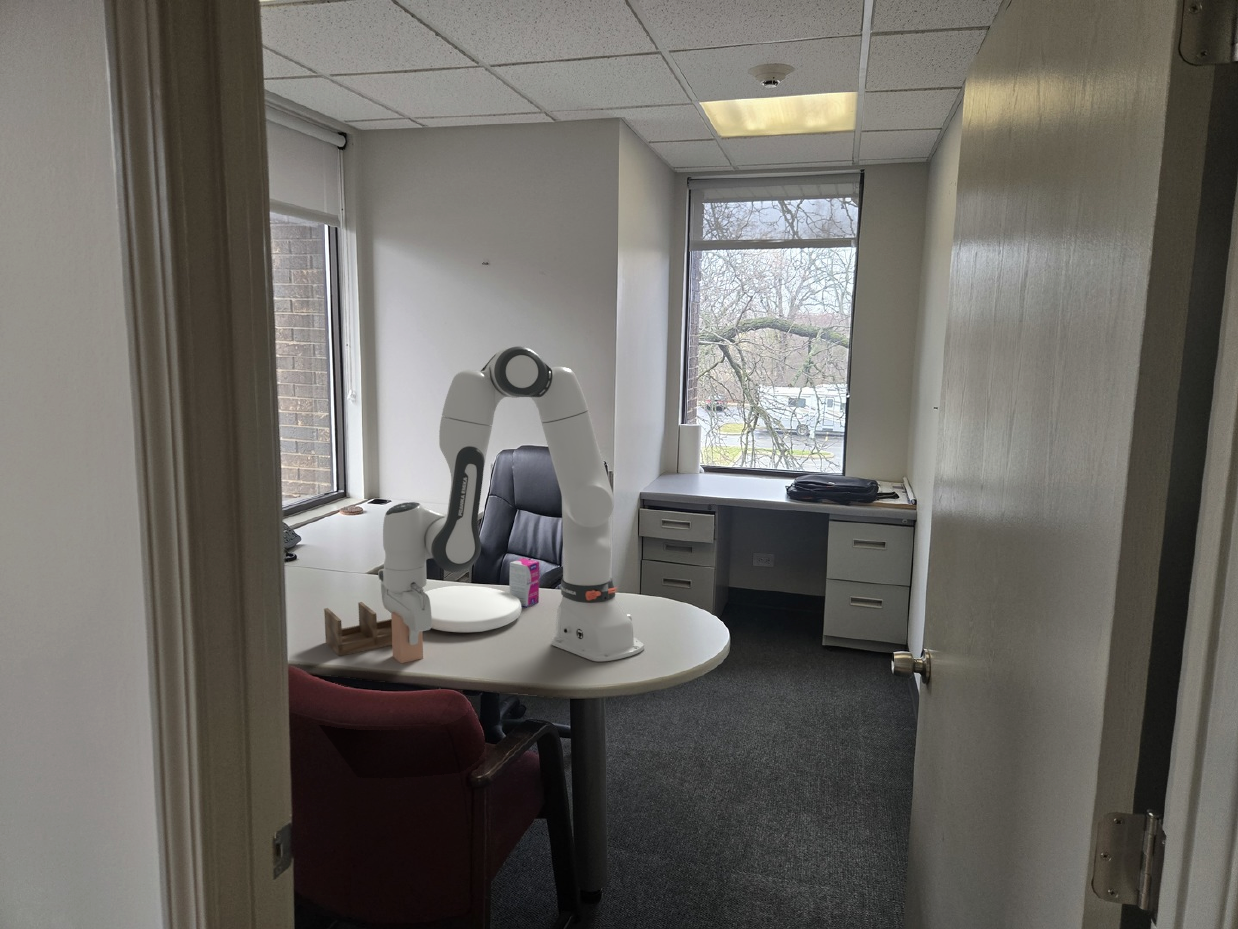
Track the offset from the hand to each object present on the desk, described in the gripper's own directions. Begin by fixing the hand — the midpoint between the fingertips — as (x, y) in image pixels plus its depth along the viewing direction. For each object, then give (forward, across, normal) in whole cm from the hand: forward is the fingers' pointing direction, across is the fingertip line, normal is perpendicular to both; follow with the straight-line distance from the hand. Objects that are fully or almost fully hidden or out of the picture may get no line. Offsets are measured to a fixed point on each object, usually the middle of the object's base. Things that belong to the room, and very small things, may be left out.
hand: (407, 639), depth 178 cm
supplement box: (+4, +18, -39) cm, 43 cm away
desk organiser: (+4, +14, +4) cm, 15 cm away
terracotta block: (+4, 0, 0) cm, 4 cm away
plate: (+5, +16, -21) cm, 27 cm away
